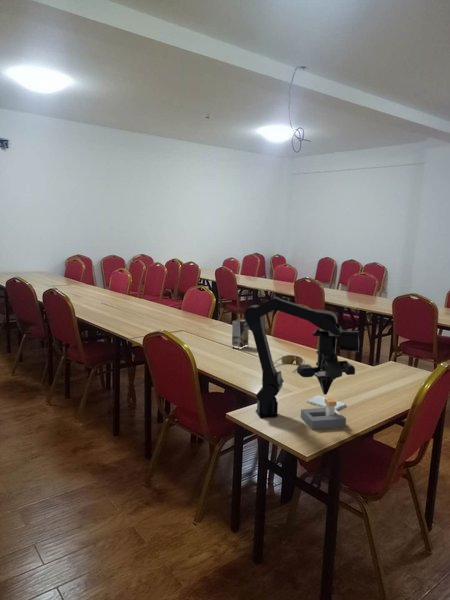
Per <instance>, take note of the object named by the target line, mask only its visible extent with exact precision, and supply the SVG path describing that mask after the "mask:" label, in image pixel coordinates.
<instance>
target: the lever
mask: <svg viewBox="0 0 450 600" xmlns="http://www.w3.org/2000/svg"><path fill="white" fill-rule="evenodd" d="M326 398H327V397H326ZM336 401H337V400H335V399H334V398H333V397H331V398H327V399H325V403H326V416H331V415H334V410H335V406H336V405H337V402H336Z"/></svg>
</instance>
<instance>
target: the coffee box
mask: <svg viewBox="0 0 450 600" xmlns="http://www.w3.org/2000/svg"><path fill="white" fill-rule="evenodd" d="M249 330H250V328H249V327H248V325H247V323H246V320H245V318H242V319H240V318H239V319H235V320H232V329H231V331H232V333H231V335H232V336H231V346H232V345H233V346H238V347H243V346H245V345H248V346H249V339H250V338H249V334H250V332H249Z"/></svg>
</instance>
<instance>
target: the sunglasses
mask: <svg viewBox="0 0 450 600" xmlns="http://www.w3.org/2000/svg"><path fill="white" fill-rule="evenodd" d="M280 360H281V364H291V365H292V364H294V361H295V364H296V365H297V366H299V365H306V364H305V363H306V361H305V359H304V358H303V356H301V355H298V354H293V353H292V354H285V355H282V356H281V357H278V358H277V359H276V360H275V361H273V364H274V365H275V364H276V363H277V362H278V361H280ZM295 372H297V368H295V369H294V370H293V371H292V373H295Z"/></svg>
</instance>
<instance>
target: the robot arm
mask: <svg viewBox="0 0 450 600" xmlns="http://www.w3.org/2000/svg"><path fill="white" fill-rule="evenodd" d="M272 311H279V312H282V313H284V314H288V315H290V316H292V317H293V316H294V317H296V318H300V319H302V320H305V321H308V322H309V323H310V324H313V326H316V330H315V331H314V332H313V333H312V336H313V337H318V346H317V350H316V355H317V361H316V362H315V366H311V364H304V365H297V368H296V369H297V370H296V373H297V374H298V375H299V376H301V377H303V378H312V377H314V376H315V377H316V379H317V380H318V383H319V386H320V389H321V391H322V394H323V395H325V396H326V395H328V392H329V391H330V387H331V386H332V384H333V382H334V381H335V380H336V379H339V378H341V377H343V373H344V374H345V375H347V376H354V375H356V368H355V366H354V365H352V364H350V363H349V362H348V361H347V360H339V359H338V353H337V352H336V351H337V350H336V348H339V350H340V351H343V352H355V353H359V352H360V351H359V349H360V339H359V336H360V331H359V330H344V329H343V328H342V326H341V325H340V323H339V322H338V317H337V315H336V313H334V312H333V311H331V310H324V309H314V308H311V307H310V308H309V307H306V306H304V305H300V304H297V303H294V302H292V301H288V300H286V299H282V298H280V297H279V296H274V297H272V298H271V299H270V300H267V301H265V302H264V303H262V304H260V305H259V304H253V305H251V306H250V307H247V308H246V309H245V311H244V312H243V317H244V318H243V319H245V320H246V323H247V325H248V327H249V330H250V331H251V333H252V335H253V340H254V343H255V347H256V352H257V354H258V360H259V362H260V367H261V371H262V376H261V382H262V383H261V385H262V387H261V388H260V390H259V391H258V392H257V394H256V396H255V397H256V399H257V400H256V409H255V413H256V414H257V415H258V417H259V418H260V419H265V418H277V417H278V411H279V410H278V409H279V401H277V397H276V396H278V394H279V392H280V391H281V389H282V388H283V385H284V384H283V383H284V382H285V380H284V379H283V376H282V371H281V370H279V371H277V369H276V367H275V364H274V360H273V357H272V353H271V349H270V346H269V341H268V336H267V333H266V329H265V328H266V326H265V325H266V317H265V316H266V315H267V314H269V313H271V312H272ZM336 346H337V347H336Z"/></svg>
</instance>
